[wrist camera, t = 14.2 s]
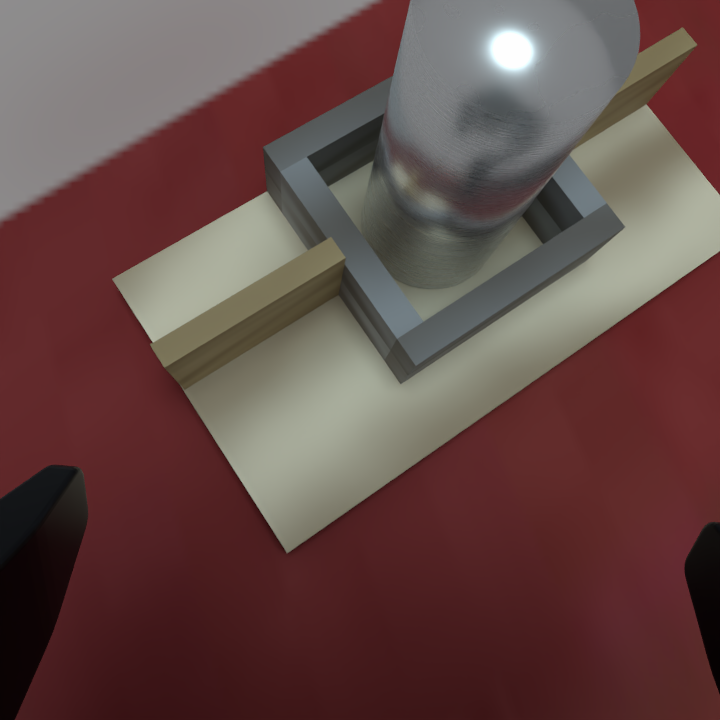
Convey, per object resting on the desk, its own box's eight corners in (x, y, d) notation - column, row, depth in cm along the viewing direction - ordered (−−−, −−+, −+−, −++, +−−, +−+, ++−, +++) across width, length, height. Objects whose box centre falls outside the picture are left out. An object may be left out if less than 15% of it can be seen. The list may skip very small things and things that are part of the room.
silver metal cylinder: (392, 308, 23) (469, 150, 13) (340, 185, 24) (375, -52, 14) (517, 263, 24) (679, 82, 14) (462, 146, 25) (578, -104, 15)
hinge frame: (731, 241, 26) (818, 187, 22) (287, 551, 22) (285, 561, 18) (566, 34, 28) (616, -55, 24) (119, 288, 24) (80, 238, 19)
